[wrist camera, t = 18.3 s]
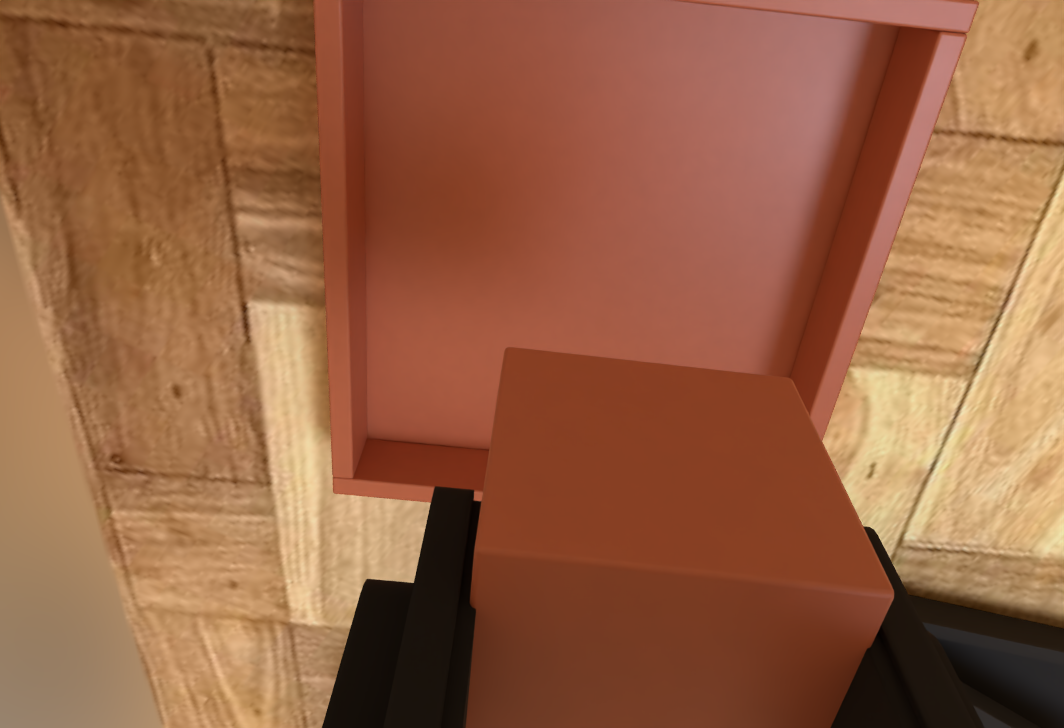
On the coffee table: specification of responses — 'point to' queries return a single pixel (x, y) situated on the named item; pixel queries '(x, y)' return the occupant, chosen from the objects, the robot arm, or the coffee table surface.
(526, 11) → the dish
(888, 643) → the robot arm
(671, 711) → the terracotta block
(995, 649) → the tray
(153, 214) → the coffee table surface
